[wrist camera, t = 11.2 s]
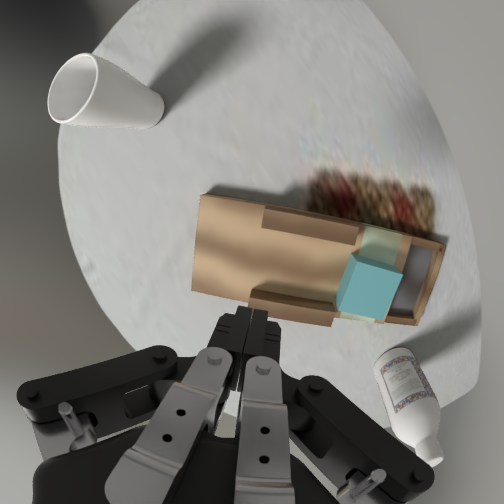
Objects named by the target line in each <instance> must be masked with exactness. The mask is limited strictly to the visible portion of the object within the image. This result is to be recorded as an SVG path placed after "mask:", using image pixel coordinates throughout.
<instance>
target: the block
mask: <svg viewBox="0 0 504 504" xmlns="http://www.w3.org/2000/svg"><path fill="white" fill-rule="evenodd" d="M402 276H403V274H402V273H401V272H400V271H399V270H398V269H397V268H396V267H395V266H393V265H390V264H386V263H383V262H380V261H376V260H373V259H369V258H366V257H363V256H359V255H356V254H352V253H351V254H350V257H349V260H348V263H347V265H346V268H345V271H344V274H343V276H342V279H341V282H340V284H339V287H338V290H337V292H336V295H335V297H334V300H335V303H336V306H337V309H338V311H342V312H346V313H351V314H355V315H360V316H364V317H369V318H374V319H378V320H383V319H384V317H385V315H386V313H387V310H388V308H389V306H390V304H391V302H392V299H393V297H394V295H395V293H396V290H397V288H398V286H399V283H400V281H401V278H402Z"/></svg>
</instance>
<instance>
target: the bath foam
mask: <svg viewBox="0 0 504 504" xmlns="http://www.w3.org/2000/svg"><path fill="white" fill-rule="evenodd" d="M374 374H375V377H376V380H377V384H378V387H379V390H380V393H381V396H382V399H383V402H384V405H385V408H386V411H387V414H388V418H389V421H390V424H391V427H392V429H393V431H394V433H395V434H396V436H397V437H398V438H399V439H400V440H401V441H403V442H404V443H406V444H408V445H410V446H412V447H414V448H415V451H416V454H417V456H418V457H420V458H421V459H422V460H424V461H425V462H426V463H427V464H429V465H430V466H431V467H434V466H436V465H437V464H438V463H440V462H441V461H442V460H443V458H444V456H443V453H442V450H441V448H440V445H439V442H438V440H437V438H436V435H437V432H438V428H439V424H440V418H441V413H440V412H441V411H440V406H439V403H438V400H437V398H436V396H435V394H434V392H433V390H432V388H431V386H430V384H429V382H428V381H427V379H426V377H425V375H424V373H423V371H422V369H421V368H420V366H419V364H418V362H417V360H416V359H415V357H414V355H413V354H412V352H411V351H410V350H409V349H407V348H394V349H391V350H389V351H387V352H386V353H384V354H383V355H382V356H381V357H380V358H379V359H378V360H377V362H376V364H375V367H374Z"/></svg>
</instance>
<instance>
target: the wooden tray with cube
mask: <svg viewBox="0 0 504 504" xmlns="http://www.w3.org/2000/svg"><path fill="white" fill-rule="evenodd" d="M445 248H446V245H444V244H443V243H441V242H437V241H434V240H430V239H426V238H423V237H419V236H415V235H411V234H407V233H403V232H399V231H395V230H391V229H387V228H383V227H379V226H375V225H370V224H366V223H362V222H357V221H353V220H348V219H344V218H339V217H334V216H329V215H325V214H320V213H315V212H310V211H305V210H299V209H294V208H289V207H284V206H278V205H272V204H267V203H261V202H255V201H249V200H243V199H237V198H231V197H224V196H217V195H211V194H203V195H200V203H199V211H198V220H197V230H196V240H195V250H194V262H193V274H192V288H191V291H195V292H200V293H205V294H209V295H214V296H218V297H223V298H228V299H233V300H238V301H243V302H248V307H250V308H253V311H254V308H255V309H261V310H267V311H268V317H272V318H278V319H283V320H289V321H295V322H301V323H308V324H314V325H321V326H327V327H331V325H332V322H333V319H334V317H335V318H343V319H350V320H358V321H365V322H373V323H381V324H384V322H386V323H394V324H403V325H412V326H417V325H418V323H419V321H420V318H421V316H422V314H423V311H424V309H425V306H426V304H427V301H428V299H429V296H430V294H431V291H432V288H433V285H434V283H435V280H436V277H437V274H438V271H439V268H440V265H441V262H442V258H443V255H444V252H445ZM351 253H352V254H356V255H359V256H363V257H366V258H369V259H373V260H376V261H380V262H383V263H386V264H390V265H393V266H395V267H396V268H397V269H398V270H399V271H400V272H401V273H402V274H403V276H402V278H401V281H400V283H399V286H398V288H397V290H396V293H395V295H394V297H393V299H392V302H391V304H390V306H389V308H388V310H387V313H386V315H385V317H384V319H383V320H378V319H374V318H369V317H364V316H360V315H355V314H351V313H346V312H342V311H338V309H337V306H336V303H335V300H334V297H335V295H336V292H337V290H338V287H339V284H340V282H341V279H342V276H343V274H344V271H345V268H346V265H347V263H348V260H349V257H350V254H351ZM253 311H252V314H253Z"/></svg>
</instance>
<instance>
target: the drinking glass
mask: <svg viewBox="0 0 504 504" xmlns="http://www.w3.org/2000/svg"><path fill="white" fill-rule="evenodd" d="M48 110H49V114H50V116H51V117H52V119H53V120H54V121H56V122H58V123H62V124H68V125H74V126H82V127H112V128H134V129H139V130H146V129H149V128H151V127H153V126H155V125H156V124H157V123H158V122H159V121H160V119H161V117H162V115H163V113H164V101H163V99H162V97H161V96H160V95H159V94H158V93H156V92H154V91H153V90H151V89H150V88H148V87H147V86H145V85H144V84H143V83H141V82H140V81H139V80H137V79H136V78H134V77H133V76H132V75H130V74H129V73H128V72H126V71H125V70H123V69H122V68H120V67H119V66H117V65H115V64H114V63H112V62H110V61H108V60H106V59H103V58H101V57H98V56H95V55H93V54H90V53H81V54H78V55H76V56H74V57H73V58H71V59H69V60H68V61H67V62H66V63H65V64H64V65H63V66H62V67H61V69H60V70H59V71H58V73H57V74H56V76H55V78H54V80H53V82H52V84H51V87H50V90H49V94H48Z"/></svg>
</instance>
